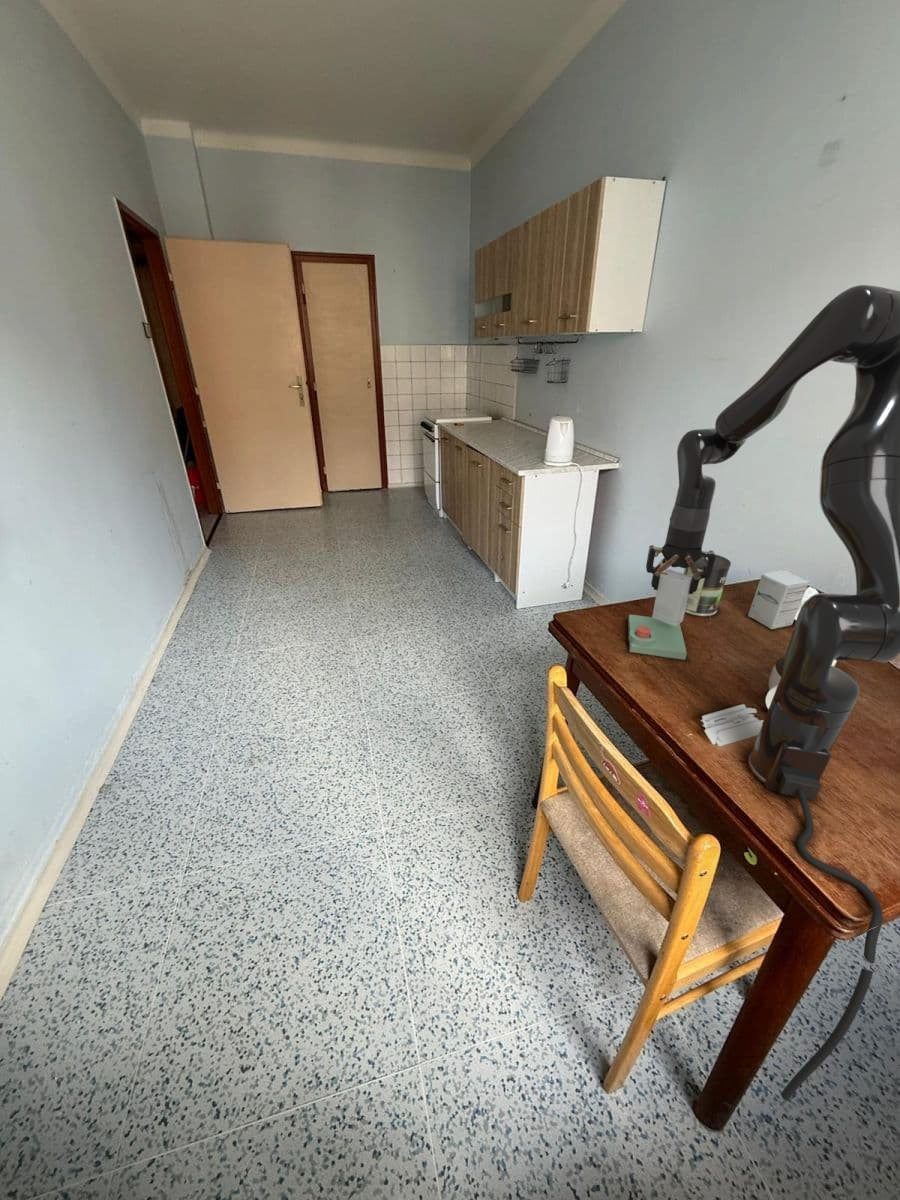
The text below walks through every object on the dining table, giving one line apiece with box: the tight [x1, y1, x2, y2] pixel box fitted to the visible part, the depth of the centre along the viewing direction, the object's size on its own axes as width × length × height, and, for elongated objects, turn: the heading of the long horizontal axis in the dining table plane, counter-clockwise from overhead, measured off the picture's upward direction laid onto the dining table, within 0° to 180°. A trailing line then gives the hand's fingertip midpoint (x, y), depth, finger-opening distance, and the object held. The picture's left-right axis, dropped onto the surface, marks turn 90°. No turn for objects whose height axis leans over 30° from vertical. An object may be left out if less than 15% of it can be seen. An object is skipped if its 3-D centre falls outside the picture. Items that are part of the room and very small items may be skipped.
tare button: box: [636, 626, 651, 639], centre depth 111 cm, size 3×3×2 cm
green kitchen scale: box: [627, 614, 688, 661], centre depth 115 cm, size 15×12×4 cm
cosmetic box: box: [651, 568, 692, 626], centre depth 112 cm, size 6×4×12 cm
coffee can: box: [683, 554, 732, 617], centre depth 126 cm, size 10×10×14 cm
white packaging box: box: [747, 569, 810, 630], centre depth 119 cm, size 7×7×13 cm
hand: (672, 590), depth 111 cm, fingers closed on cosmetic box, 7 cm apart
